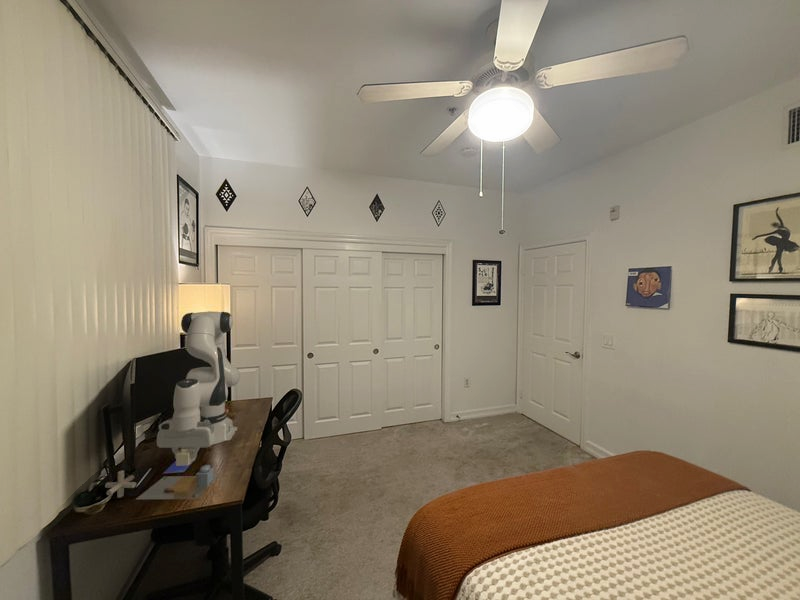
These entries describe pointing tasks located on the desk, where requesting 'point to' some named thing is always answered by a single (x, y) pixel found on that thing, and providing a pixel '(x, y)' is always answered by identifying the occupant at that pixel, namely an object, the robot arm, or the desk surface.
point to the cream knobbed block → (184, 457)
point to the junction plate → (169, 482)
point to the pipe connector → (120, 484)
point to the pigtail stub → (184, 486)
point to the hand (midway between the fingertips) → (185, 457)
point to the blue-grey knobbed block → (205, 475)
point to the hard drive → (176, 468)
